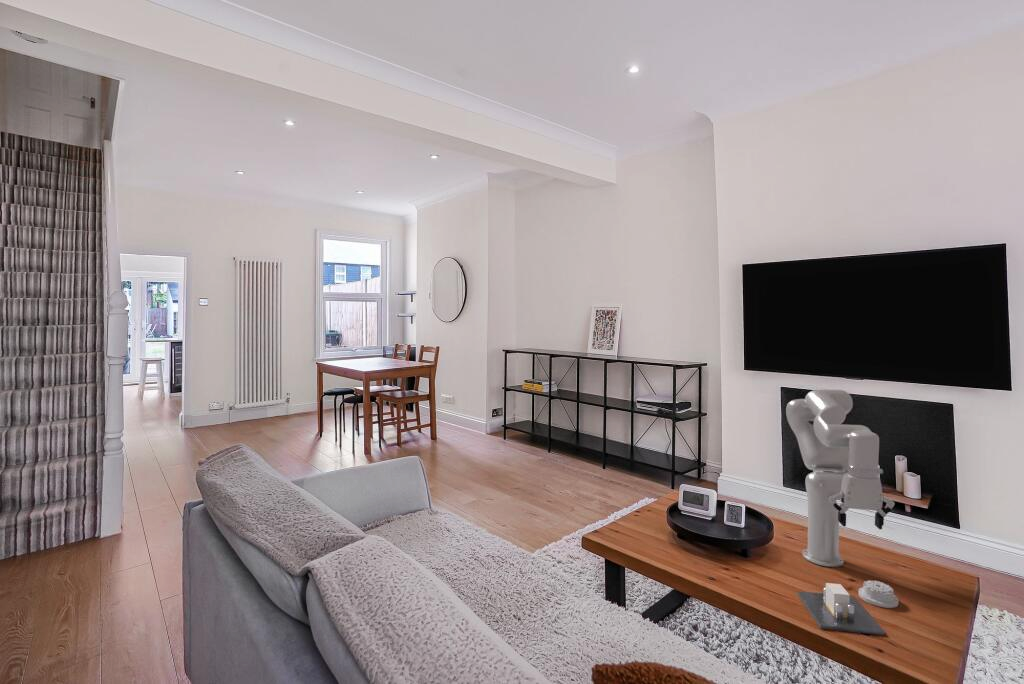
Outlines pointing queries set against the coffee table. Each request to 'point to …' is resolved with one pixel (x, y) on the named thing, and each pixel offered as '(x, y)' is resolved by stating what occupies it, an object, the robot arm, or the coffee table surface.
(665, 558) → the coffee table surface
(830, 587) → the jaw block
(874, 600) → the mechanical component
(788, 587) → the coffee table surface
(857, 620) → the base plate
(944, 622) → the coffee table surface
